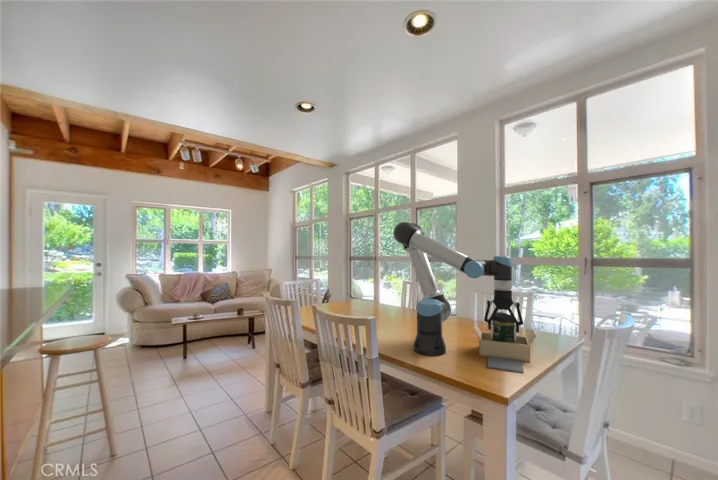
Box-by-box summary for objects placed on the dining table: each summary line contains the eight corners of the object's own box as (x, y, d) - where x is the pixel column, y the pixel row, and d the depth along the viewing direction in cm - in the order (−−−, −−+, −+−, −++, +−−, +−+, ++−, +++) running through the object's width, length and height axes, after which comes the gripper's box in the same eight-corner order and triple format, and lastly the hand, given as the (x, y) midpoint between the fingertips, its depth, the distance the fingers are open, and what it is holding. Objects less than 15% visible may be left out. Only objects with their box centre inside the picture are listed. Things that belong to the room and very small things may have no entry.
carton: (473, 354, 138) (473, 329, 139) (475, 345, 152) (475, 322, 152) (537, 363, 128) (536, 336, 128) (533, 352, 142) (532, 327, 142)
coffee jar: (518, 356, 136) (518, 315, 136) (502, 357, 134) (502, 315, 135) (504, 349, 145) (504, 310, 146) (489, 350, 144) (489, 311, 145)
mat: (487, 367, 123) (487, 366, 123) (487, 357, 135) (487, 356, 135) (523, 373, 118) (523, 371, 118) (520, 361, 129) (520, 360, 129)
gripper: (477, 288, 142) (477, 337, 141) (530, 291, 133) (531, 343, 132) (478, 287, 149) (478, 333, 148) (528, 289, 140) (529, 338, 139)
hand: (503, 338), depth 140 cm, fingers closed on coffee jar, 9 cm apart
